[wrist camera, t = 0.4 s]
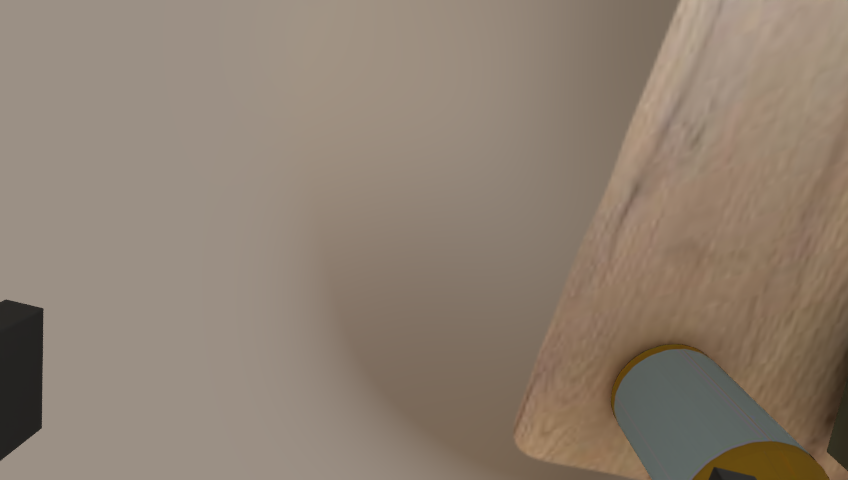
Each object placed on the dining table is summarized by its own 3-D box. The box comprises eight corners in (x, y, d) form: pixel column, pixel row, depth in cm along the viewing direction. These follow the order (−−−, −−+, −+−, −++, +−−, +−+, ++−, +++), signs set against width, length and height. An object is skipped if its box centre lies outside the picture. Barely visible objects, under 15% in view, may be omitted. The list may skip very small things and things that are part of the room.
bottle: (611, 341, 35) (759, 538, 21) (721, 336, 36) (939, 526, 22) (602, 435, 38) (731, 670, 23) (706, 430, 38) (894, 658, 24)
